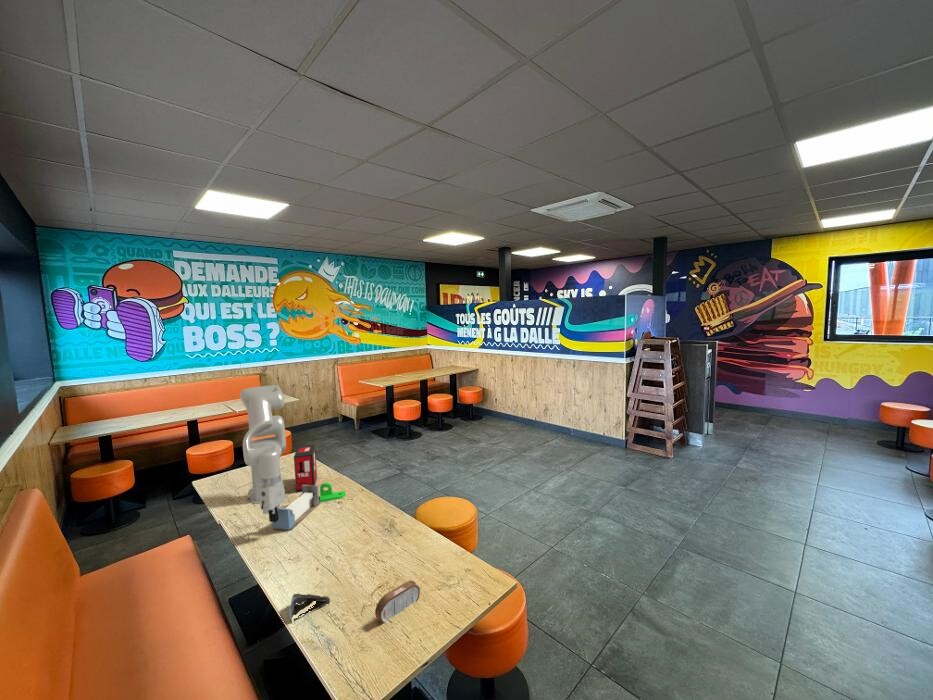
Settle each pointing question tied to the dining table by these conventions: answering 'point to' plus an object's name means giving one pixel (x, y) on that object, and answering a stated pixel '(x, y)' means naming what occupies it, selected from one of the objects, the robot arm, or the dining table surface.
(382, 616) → the tin
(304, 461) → the cleaning product box
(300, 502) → the slat
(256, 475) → the robot arm
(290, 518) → the sliding end cap
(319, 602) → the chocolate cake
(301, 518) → the endcap rack
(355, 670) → the dining table surface
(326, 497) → the mechanical part
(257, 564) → the dining table surface
